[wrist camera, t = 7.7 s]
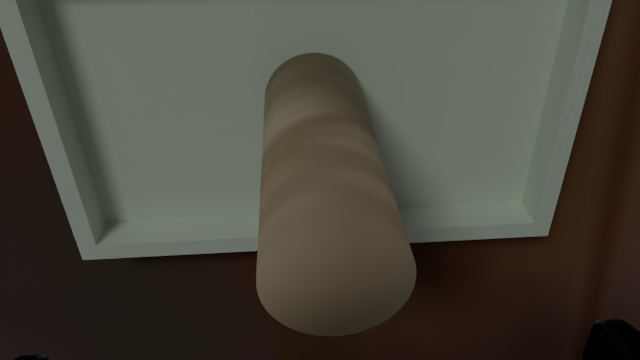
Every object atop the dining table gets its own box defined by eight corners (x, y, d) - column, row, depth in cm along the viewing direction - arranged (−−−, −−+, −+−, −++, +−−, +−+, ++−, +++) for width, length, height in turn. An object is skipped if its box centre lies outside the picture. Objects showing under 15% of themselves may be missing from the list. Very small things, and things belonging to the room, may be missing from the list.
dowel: (362, 50, 16) (422, 214, 9) (360, 139, 18) (410, 330, 11) (261, 54, 16) (248, 223, 9) (268, 143, 18) (262, 341, 11)
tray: (598, -90, 15) (634, -80, 13) (528, 205, 20) (547, 235, 19) (3, -71, 14) (-30, -58, 13) (98, 226, 20) (82, 259, 18)
